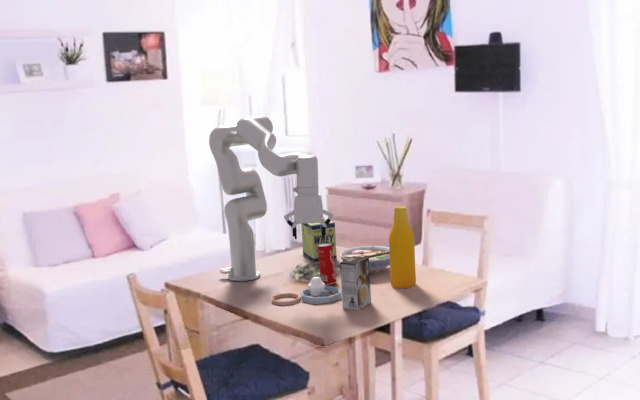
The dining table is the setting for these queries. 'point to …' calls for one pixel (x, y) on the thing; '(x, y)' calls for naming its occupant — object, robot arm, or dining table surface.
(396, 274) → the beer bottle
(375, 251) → the ramen bowl
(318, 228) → the protein box
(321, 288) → the white steamed bun
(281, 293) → the terracotta ring
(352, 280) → the coffee box
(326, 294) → the grey ball
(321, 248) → the beverage can
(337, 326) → the dining table surface
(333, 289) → the slate ring
